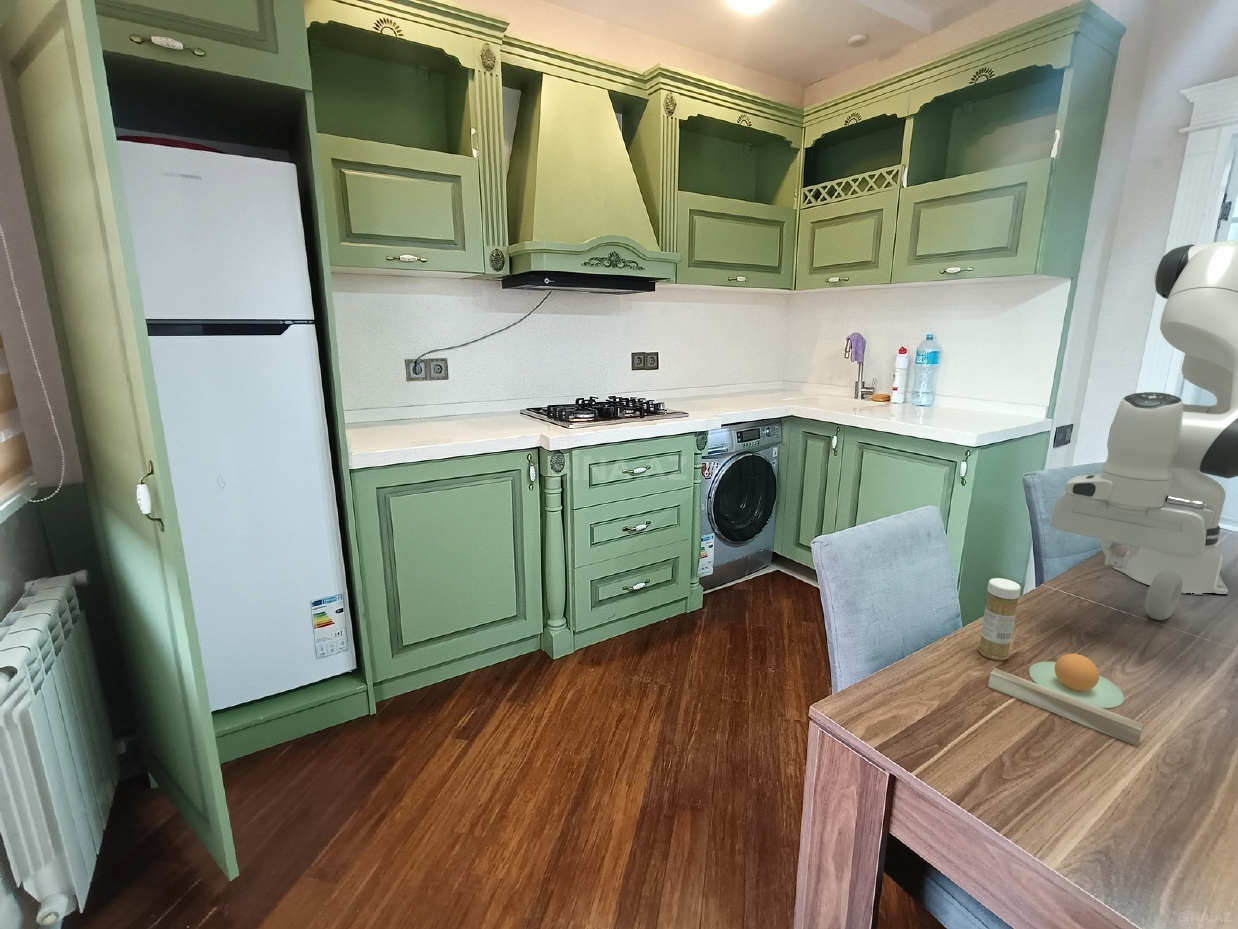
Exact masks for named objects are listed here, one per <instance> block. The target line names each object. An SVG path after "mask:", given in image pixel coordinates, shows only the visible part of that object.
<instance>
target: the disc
mask: <svg viewBox="0 0 1238 929" xmlns="http://www.w3.org/2000/svg"><path fill="white" fill-rule="evenodd" d="M1056 662H1057V661H1039V662H1035V663H1034V664H1032V665H1030V666H1029V670H1028V673H1029V674H1028V675H1029V677H1030V678H1031V679H1032V682H1033V683H1036V684H1039V685H1041V686H1044V687H1047V688H1049V689H1052V690H1055V691H1057V692H1060V693H1063V694H1065V695H1068V696H1070V697H1073V698H1076V699H1078V700H1081V701H1084V702H1086V703H1089V704H1092V705H1094V706H1097V707H1100V708H1102V709H1113V708H1117V707H1119V706H1122V704H1123V703H1124V700H1125V696H1124V694H1123V692H1122V691H1121V689H1120V688H1119V687H1118V686H1117V685H1116V684H1115V683H1113V682H1112V681H1110V680H1109V679H1108V678H1105V677H1104V676H1102V675H1100V674H1099V681H1098V683H1097V685H1096V686H1095V687H1093V688H1092V689H1090V690H1086V691H1076V690H1073V689H1070V688H1068V687H1066V686H1065V685H1063V684H1062V683H1061V682H1060V681H1059V679H1058V678H1057V676H1056V674H1055V664H1056Z"/></svg>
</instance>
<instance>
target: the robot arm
mask: <svg viewBox="0 0 1238 929" xmlns="http://www.w3.org/2000/svg"><path fill="white" fill-rule="evenodd" d="M1154 285H1155V291H1156V293H1157V294H1158V295H1159V296H1160V297H1162V298H1163V299H1166V301H1165V302H1166V303H1165V305H1164V307H1163V311H1162V314H1161V319H1160V325H1159V330H1160V333H1161V335H1162V336H1163V338H1164V340H1166V342H1167V343H1168V344H1170V345H1171V346H1172V347H1173V348H1174V349H1176V350H1178V351H1180V352H1181V353H1183V354H1184V355H1183V356H1184V358H1183V362H1182V366H1181V374H1182V377H1184V379H1185V380H1186V381H1187V382H1188V383H1191V384H1192V385H1194V386H1196V387H1199V388H1200V389H1202V390H1205V391H1207V392H1209V393H1211V394H1212V395H1214V397H1215V400H1216V404H1214V405H1210V406H1209V405H1203V404H1202V405H1200V404H1199V405H1198V404H1185V403H1184V402H1183V400H1182V399H1181V397H1178V396H1177V395H1174V394H1170V393H1167V392H1157V391H1156V392H1155V391H1153V392H1151V391H1150V392H1149V391H1147V392H1146V391H1145V392H1135V393H1131V394H1128V395H1126V396H1123V398H1122V399H1121V400H1120V402H1119V405H1118V407H1117V410H1116V412H1115V415H1114V417H1113V420H1112V423H1111V425H1110V429H1109V433H1108V438H1107V443H1106V448H1107V457H1106V460H1105V462H1104V464H1103V465H1102V469H1101V473H1097V474H1096V473H1095V474H1085V475H1077V476H1074V477H1072V478H1070V479H1068V481H1067V482H1066V483H1065V486H1064V493H1062V495H1061V496H1059V498H1058V499H1057V500H1056V503H1055V505H1054V508H1053V510H1052V513H1051V516H1050V521H1049V524H1050V526H1051V527H1052V528H1053V529H1054V530H1055V531H1059V532H1060V531H1061V532H1063V533H1064V532H1065V533H1071V534H1074V535H1079V536H1083V537H1088V538H1094V539H1097V540H1100V541H1099V542H1100V543H1099V546H1100V548H1101V550H1102V552H1103V553H1104V554H1103V555H1105V558H1104V566H1105V565H1106V566H1110V567H1112V568H1113V569H1114V570H1116V571H1119V572H1120V573H1124V574H1125V575H1127V576H1128V577H1130V578H1131V579H1133V580H1135V581H1137V582H1139V583H1142V584H1145V585H1148V586H1150V585H1151V583H1152V581H1153V579H1154V578H1155V576H1156V575H1157V574H1158V573H1159V572H1161V571H1164V570H1173V571H1176V572H1177V573H1179V575H1180V576H1181V577H1182V580H1183V587H1182V592H1181V594H1186V593H1191V594H1190V595H1202V594H1201V593H1206V592H1208V593H1209V592H1222V593H1224V592H1228V593H1229V589H1228V587H1227V586H1226V584H1225V582H1224V581H1223V579H1222V577H1221V576H1220V575H1221V573H1222V569H1221V567H1222V563H1223V560H1224V555H1223V554H1222V553H1221V551H1219V549H1218V548H1217V546H1216V544H1217V543H1218V540H1219V537H1220V534H1221V532H1220V530H1221V527H1220V526H1219V524H1220V520H1221V516H1222V512H1223V508H1224V504H1225V501H1226V496H1227V495H1226V491H1225V489H1224V487H1223V485H1222V484H1220V483H1219V482H1218V481H1216V480H1215V479H1213V478H1211V477H1210V476H1215V477H1219V478H1224V479H1232V478H1237V477H1238V239H1233V240H1222V241H1214V242H1209V243H1208V242H1207V243H1201V244H1196V245H1195V244H1192V243H1191V244H1187V245H1182V246H1178V247H1176V248H1175V247H1174V248H1173V249H1171V250H1170V251H1168V252H1167V253H1165V255H1163V256H1162V258H1161V260H1160V262H1159V263H1158V265H1157V267H1156V269H1155V273H1154ZM1208 475H1210V476H1208ZM1113 543H1116V544H1120V545H1125V546H1127V551H1126V554H1125V555H1124V556H1123V555H1118V554H1114V553H1113V552H1112V550H1111V546H1112V544H1113ZM1192 593H1194V594H1192Z"/></svg>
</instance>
